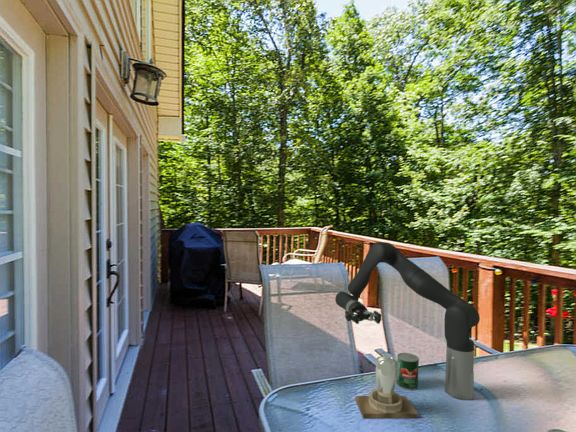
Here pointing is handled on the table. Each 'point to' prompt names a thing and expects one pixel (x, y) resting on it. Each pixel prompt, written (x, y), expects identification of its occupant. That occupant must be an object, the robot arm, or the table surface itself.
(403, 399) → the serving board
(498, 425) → the table surface
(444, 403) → the table surface
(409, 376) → the canned tomato
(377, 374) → the beer glass
